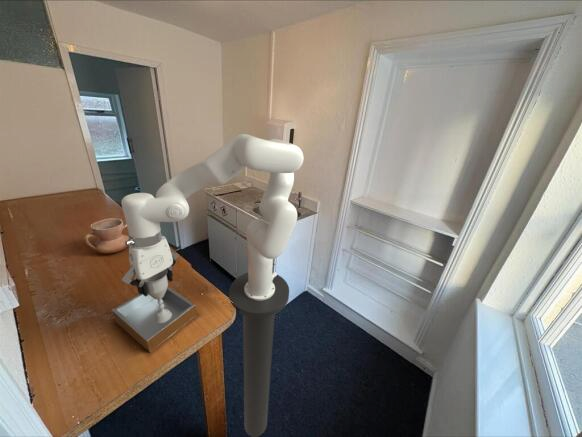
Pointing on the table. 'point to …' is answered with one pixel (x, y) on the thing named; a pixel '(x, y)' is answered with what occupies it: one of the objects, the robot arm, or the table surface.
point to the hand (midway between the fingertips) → (156, 286)
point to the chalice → (159, 294)
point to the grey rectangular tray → (142, 313)
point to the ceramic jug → (108, 236)
